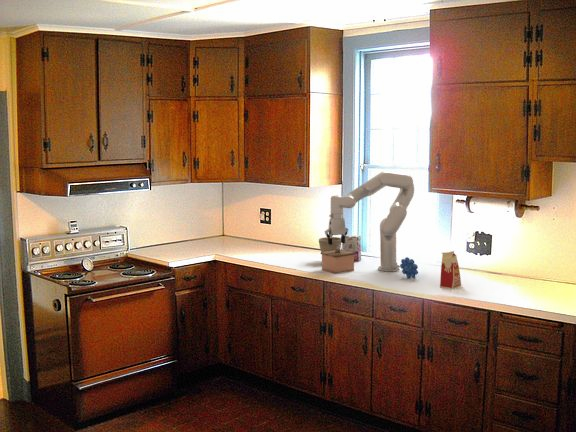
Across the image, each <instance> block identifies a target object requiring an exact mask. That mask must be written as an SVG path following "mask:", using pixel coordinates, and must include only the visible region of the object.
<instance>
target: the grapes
mask: <svg viewBox="0 0 576 432" xmlns="http://www.w3.org/2000/svg"><path fill="white" fill-rule="evenodd" d="M400 262H401V263H400V265H399V266H400V267H399V268H400V269H401V273H402V274H403V275H406V278H407V279H415V278H416V276H417V275H419V271H418V268H419V267H418V264H417V263H415V260H414V259H412V258H409V257H408V256H406V257H405V258H402V259H401V260H400Z"/></svg>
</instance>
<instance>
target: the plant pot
mask: <svg viewBox="0 0 576 432" xmlns="http://www.w3.org/2000/svg"><path fill="white" fill-rule="evenodd" d="M318 244H319V249H320V253H321V252H326V251H333V250H335V244H340V249H341V248H342V243H341V237H337V236H332V245H329V244H328V238H327V236H325V237H320V238H318Z"/></svg>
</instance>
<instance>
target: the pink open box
mask: <svg viewBox="0 0 576 432" xmlns="http://www.w3.org/2000/svg"><path fill="white" fill-rule="evenodd" d="M321 270H322V271H325V272H327V273H328V272H329V273H331V274H335V275H337V274H343V273H346V272H347V273H348V272H353V271H355V261H354V255H348V256H342V257H336V258H335V257H331V256H327V255H323V254H321Z"/></svg>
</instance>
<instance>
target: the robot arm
mask: <svg viewBox="0 0 576 432" xmlns="http://www.w3.org/2000/svg"><path fill="white" fill-rule="evenodd" d="M386 187H390V188H396V189H397V188H398V189H399V192H398V194H397V196H396V197H395V199H394V201H393V203H392V205H391V206H390V208H389V213H388V215H387V216H386V217H385V218H383V219H382V220H381V221H380V223H379V235H380V236H379V237H380V239H379V240H380V244H379V245H380V246H379V247H380V248H379V249H380V253H379V254H380V266H378V268H377V269H378V270H379V271H380V272H381V271H383V272H396V271H397V272H398V270H400V268H401V267H400V265H399V264H398V262H397V232H398V230H399V229H400V228H401V226H402V224H403V222H404V220H405V219H406V217H407V214H408V211H407V209H408V206H409V205H410V203H411V201H412V199H413V197H414V196H415V195H414V194H415V184H414V180H413V177H412V176H411V175H409V174H408V173H395V172H391V171H389V170H383V171H381V172H380V173H378V174H376V175H375V176H373V177H372V178H370V179H369V180H367V181H366V182H364V183H362V184H361V185H360V186H358V187H356V188H355V189H353V190H352V191H350V192H349V193H347V194H346V195H345V196H342V195H331V196H330V214H329V216H328V217H329V221H328V228H327V229H326V230H324V234H325V237H327V238H328V244H329V245H332V237H334V236H340V235H341V237H340V238H341V244H343V243H345V237H346V235H347V234H348V232H349V228H347V227H346V221H345V218H344V209H353V208H354V207H355V206H356V204H357V203H358V202H359V201H361V200H363V199H364V198H367V197H370V196H372V195H374V194H376V193H377V192H380V190H381V189H384V188H386Z"/></svg>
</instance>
